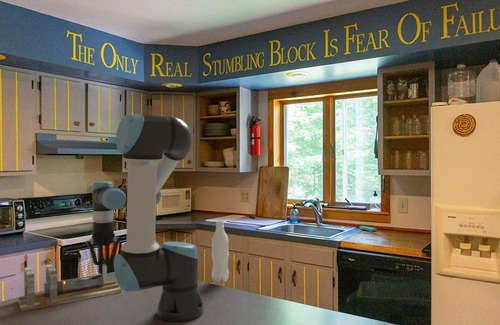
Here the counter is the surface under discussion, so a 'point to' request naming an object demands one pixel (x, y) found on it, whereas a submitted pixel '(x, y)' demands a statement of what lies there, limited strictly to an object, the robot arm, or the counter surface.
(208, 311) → the counter surface
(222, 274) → the water bottle
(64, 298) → the rail
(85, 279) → the tube
